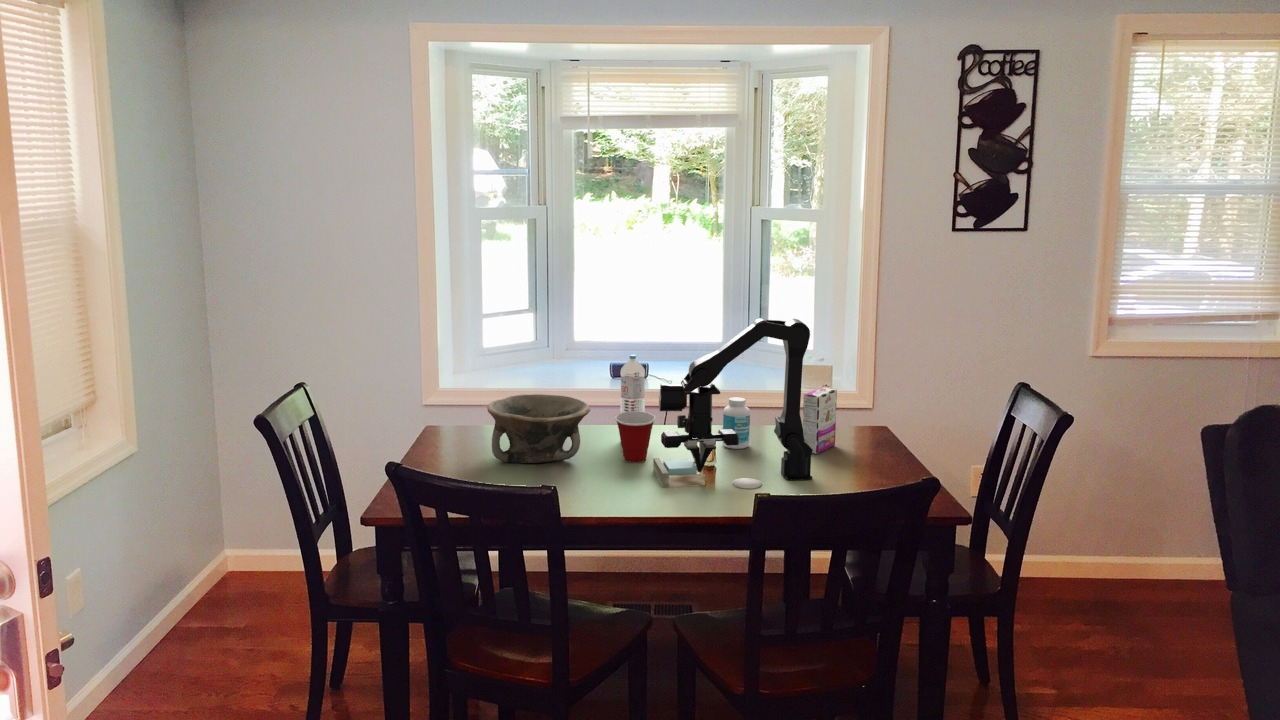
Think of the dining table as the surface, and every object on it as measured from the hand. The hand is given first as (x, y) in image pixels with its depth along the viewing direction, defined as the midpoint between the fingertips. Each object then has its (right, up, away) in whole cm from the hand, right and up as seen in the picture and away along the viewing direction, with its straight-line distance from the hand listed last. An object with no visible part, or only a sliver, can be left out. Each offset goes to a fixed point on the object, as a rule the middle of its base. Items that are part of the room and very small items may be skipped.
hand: (699, 471), depth 244 cm
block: (-5, -2, -1) cm, 5 cm away
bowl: (-42, +2, +15) cm, 44 cm away
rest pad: (+12, -3, -5) cm, 13 cm away
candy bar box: (+35, +3, +26) cm, 43 cm away
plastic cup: (-16, +1, +15) cm, 22 cm away
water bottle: (-17, +5, +31) cm, 36 cm away
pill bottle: (+12, +4, +28) cm, 31 cm away
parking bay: (-4, -2, 0) cm, 5 cm away
